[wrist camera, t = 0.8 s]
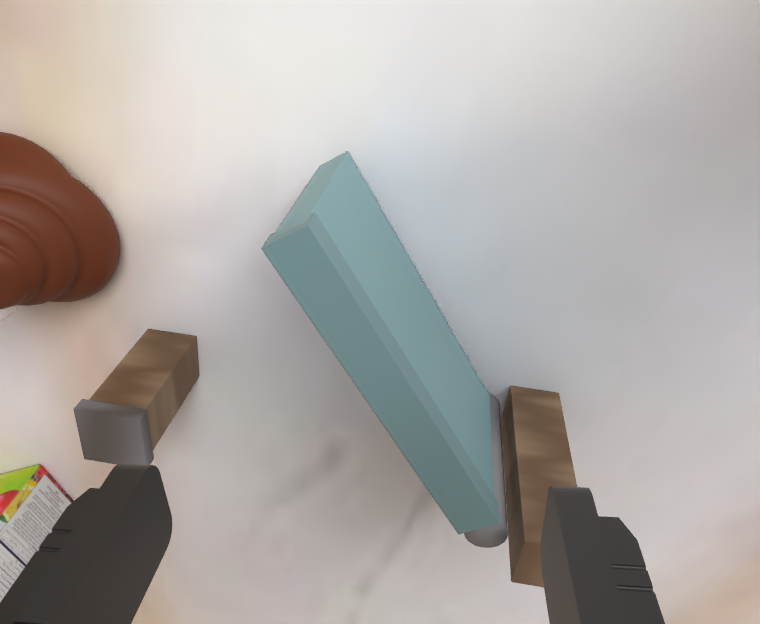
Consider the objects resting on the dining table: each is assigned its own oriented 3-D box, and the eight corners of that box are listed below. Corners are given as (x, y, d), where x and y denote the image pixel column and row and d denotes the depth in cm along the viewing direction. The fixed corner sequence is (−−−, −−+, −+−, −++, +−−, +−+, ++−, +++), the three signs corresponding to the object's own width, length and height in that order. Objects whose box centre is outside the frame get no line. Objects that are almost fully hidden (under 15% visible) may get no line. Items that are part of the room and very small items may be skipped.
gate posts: (559, 389, 36) (592, 548, 26) (546, 432, 37) (571, 596, 28) (144, 325, 37) (34, 455, 28) (150, 370, 39) (48, 506, 29)
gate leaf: (505, 412, 36) (515, 548, 28) (474, 423, 37) (475, 558, 29) (352, 146, 29) (307, 225, 21) (318, 165, 30) (261, 248, 22)
